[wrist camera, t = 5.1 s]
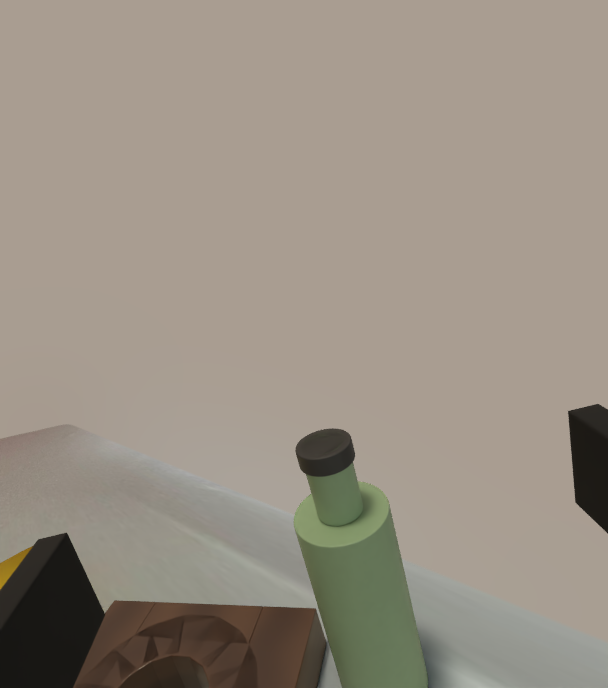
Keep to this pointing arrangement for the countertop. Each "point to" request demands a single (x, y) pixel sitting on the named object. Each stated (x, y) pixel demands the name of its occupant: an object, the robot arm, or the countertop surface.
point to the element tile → (11, 566)
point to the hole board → (204, 647)
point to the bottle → (356, 569)
